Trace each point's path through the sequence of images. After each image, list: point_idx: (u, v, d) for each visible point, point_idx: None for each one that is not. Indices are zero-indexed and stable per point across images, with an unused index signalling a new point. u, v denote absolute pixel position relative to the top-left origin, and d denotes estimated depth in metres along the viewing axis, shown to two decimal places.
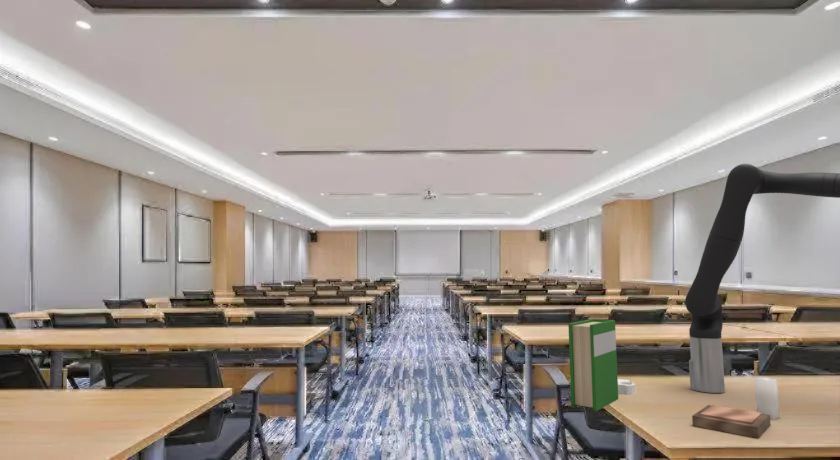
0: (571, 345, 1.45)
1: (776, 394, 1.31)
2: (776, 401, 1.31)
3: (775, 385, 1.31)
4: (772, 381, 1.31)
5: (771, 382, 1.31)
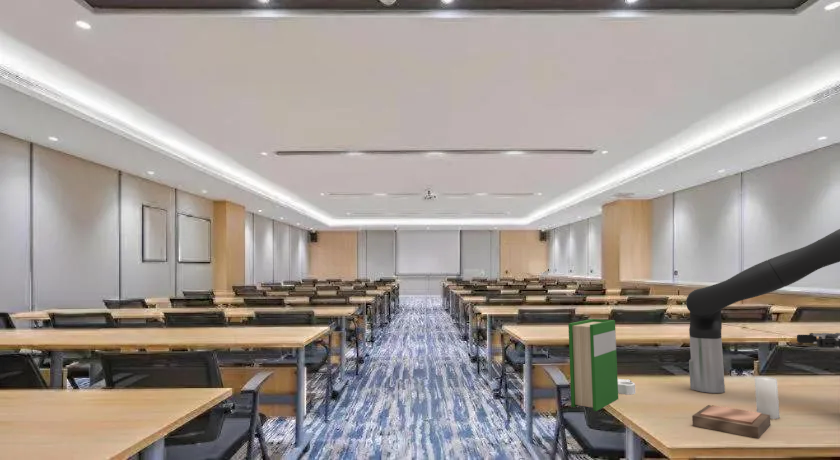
0: (571, 345, 1.45)
1: (776, 394, 1.31)
2: (776, 401, 1.31)
3: (775, 385, 1.31)
4: (772, 381, 1.31)
5: (771, 382, 1.31)
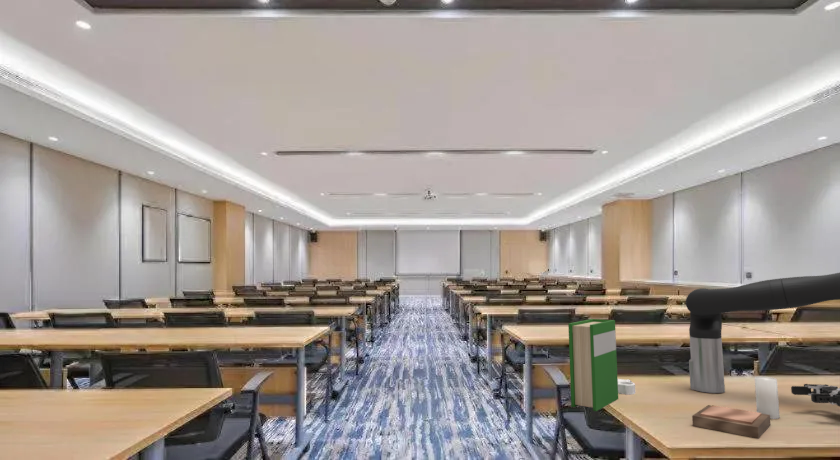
0: (571, 345, 1.45)
1: (776, 394, 1.31)
2: (776, 401, 1.31)
3: (775, 385, 1.31)
4: (772, 381, 1.31)
5: (771, 382, 1.31)
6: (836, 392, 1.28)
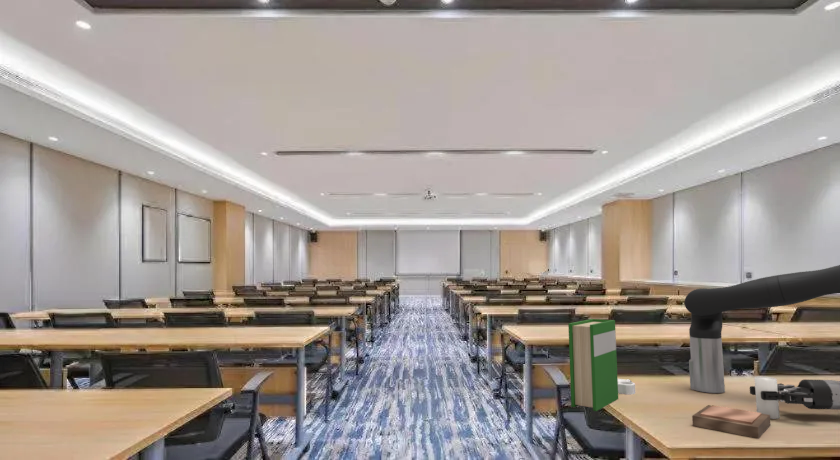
0: (571, 345, 1.45)
1: None
2: (776, 401, 1.31)
3: (775, 385, 1.31)
4: (772, 381, 1.31)
5: (771, 382, 1.31)
6: (787, 390, 1.30)
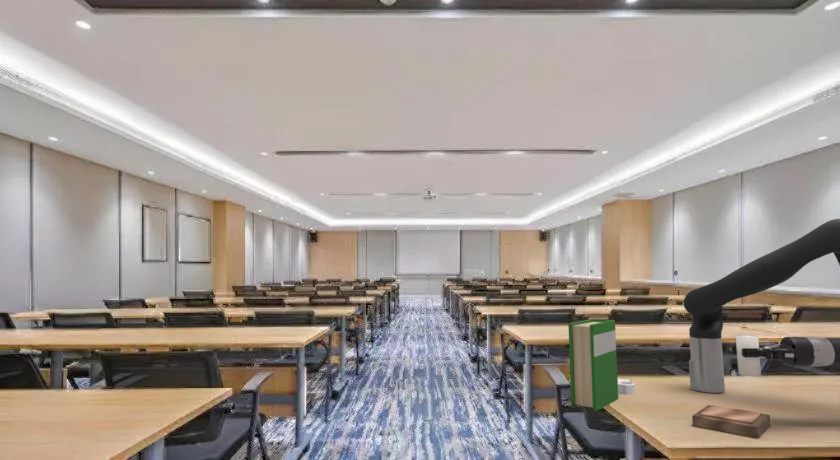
0: (571, 345, 1.45)
1: None
2: (758, 359, 1.28)
3: (756, 342, 1.28)
4: (753, 338, 1.28)
5: (752, 339, 1.28)
6: (768, 347, 1.27)
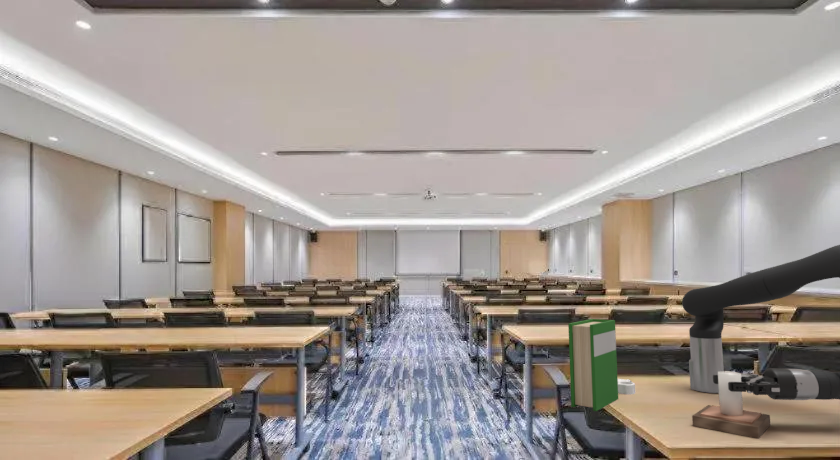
0: (571, 345, 1.45)
1: None
2: (740, 398, 1.23)
3: (738, 380, 1.24)
4: (735, 376, 1.24)
5: (734, 377, 1.24)
6: (754, 380, 1.22)
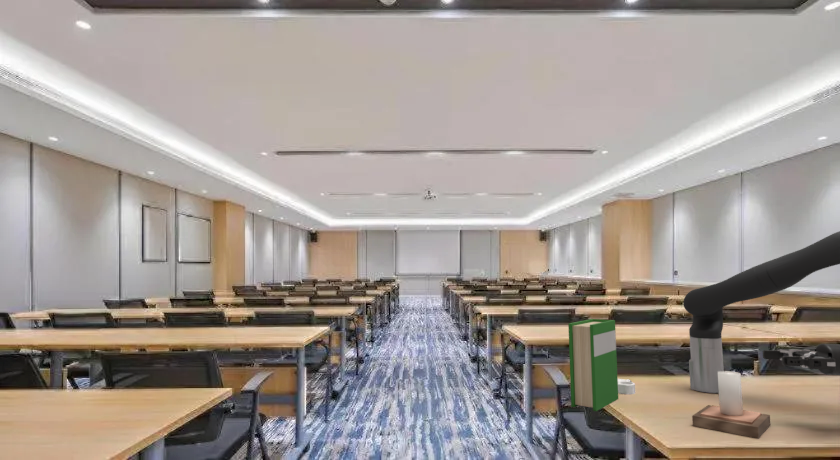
0: (571, 345, 1.45)
1: (739, 389, 1.24)
2: (740, 397, 1.23)
3: (738, 380, 1.24)
4: (735, 376, 1.24)
5: (734, 377, 1.24)
6: (808, 355, 1.21)
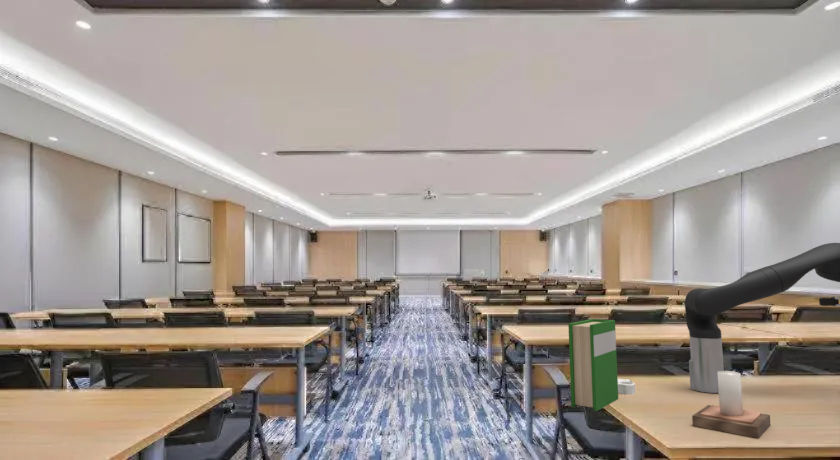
0: (571, 345, 1.45)
1: (739, 390, 1.23)
2: (739, 398, 1.23)
3: (738, 380, 1.23)
4: (734, 376, 1.23)
5: (733, 377, 1.23)
6: None
